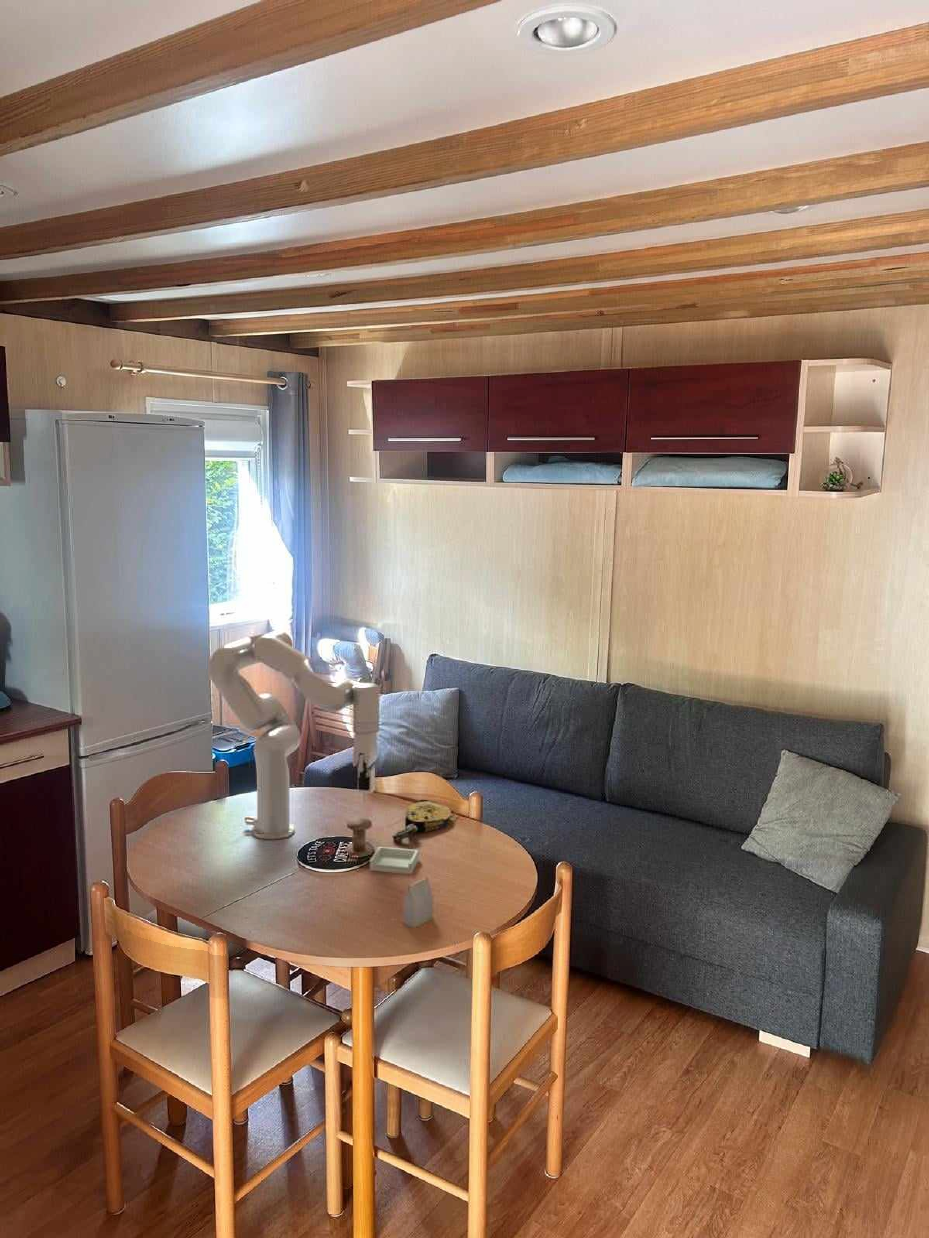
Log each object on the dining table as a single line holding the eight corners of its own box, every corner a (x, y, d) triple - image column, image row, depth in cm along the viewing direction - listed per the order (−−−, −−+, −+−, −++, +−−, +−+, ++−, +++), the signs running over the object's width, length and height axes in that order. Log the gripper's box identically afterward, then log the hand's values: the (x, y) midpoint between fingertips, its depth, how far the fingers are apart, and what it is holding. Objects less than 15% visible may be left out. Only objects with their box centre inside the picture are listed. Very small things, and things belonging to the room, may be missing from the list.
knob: (341, 856, 268) (341, 826, 267) (349, 845, 276) (349, 816, 274) (368, 858, 267) (369, 828, 265) (375, 848, 275) (376, 818, 273)
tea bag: (432, 917, 233) (433, 879, 231) (413, 927, 228) (414, 888, 226) (421, 913, 235) (422, 875, 234) (402, 922, 230) (403, 883, 229)
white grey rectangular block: (357, 792, 273) (357, 765, 272) (361, 788, 278) (361, 761, 276) (371, 793, 273) (371, 766, 272) (375, 789, 277) (375, 762, 276)
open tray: (369, 870, 259) (370, 859, 259) (378, 856, 269) (378, 846, 268) (411, 874, 258) (411, 863, 257) (418, 860, 267) (418, 850, 267)
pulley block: (377, 820, 279) (423, 790, 306) (374, 837, 281) (421, 807, 308) (419, 835, 274) (462, 804, 301) (416, 854, 275) (459, 821, 302)
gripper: (361, 718, 281) (361, 777, 284) (345, 733, 265) (345, 795, 267) (385, 719, 280) (385, 779, 283) (371, 734, 263) (371, 797, 266)
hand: (366, 786), depth 275 cm, fingers closed on white grey rectangular block, 4 cm apart
